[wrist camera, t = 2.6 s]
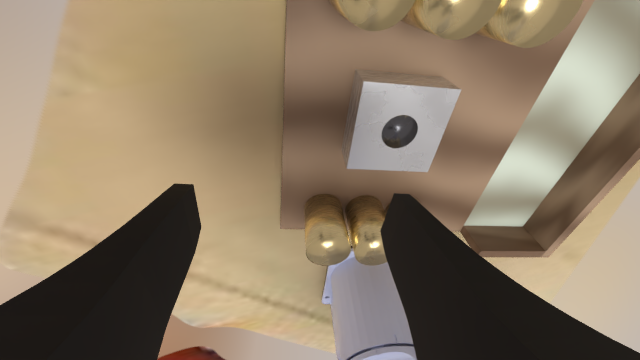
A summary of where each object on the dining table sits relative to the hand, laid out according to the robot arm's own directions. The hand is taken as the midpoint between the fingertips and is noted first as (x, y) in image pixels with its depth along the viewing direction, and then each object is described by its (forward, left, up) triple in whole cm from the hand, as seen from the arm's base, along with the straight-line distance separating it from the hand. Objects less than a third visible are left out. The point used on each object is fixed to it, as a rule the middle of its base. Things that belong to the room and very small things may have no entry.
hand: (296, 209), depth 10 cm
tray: (-1, -11, -10) cm, 15 cm away
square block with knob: (0, -6, -9) cm, 11 cm away
